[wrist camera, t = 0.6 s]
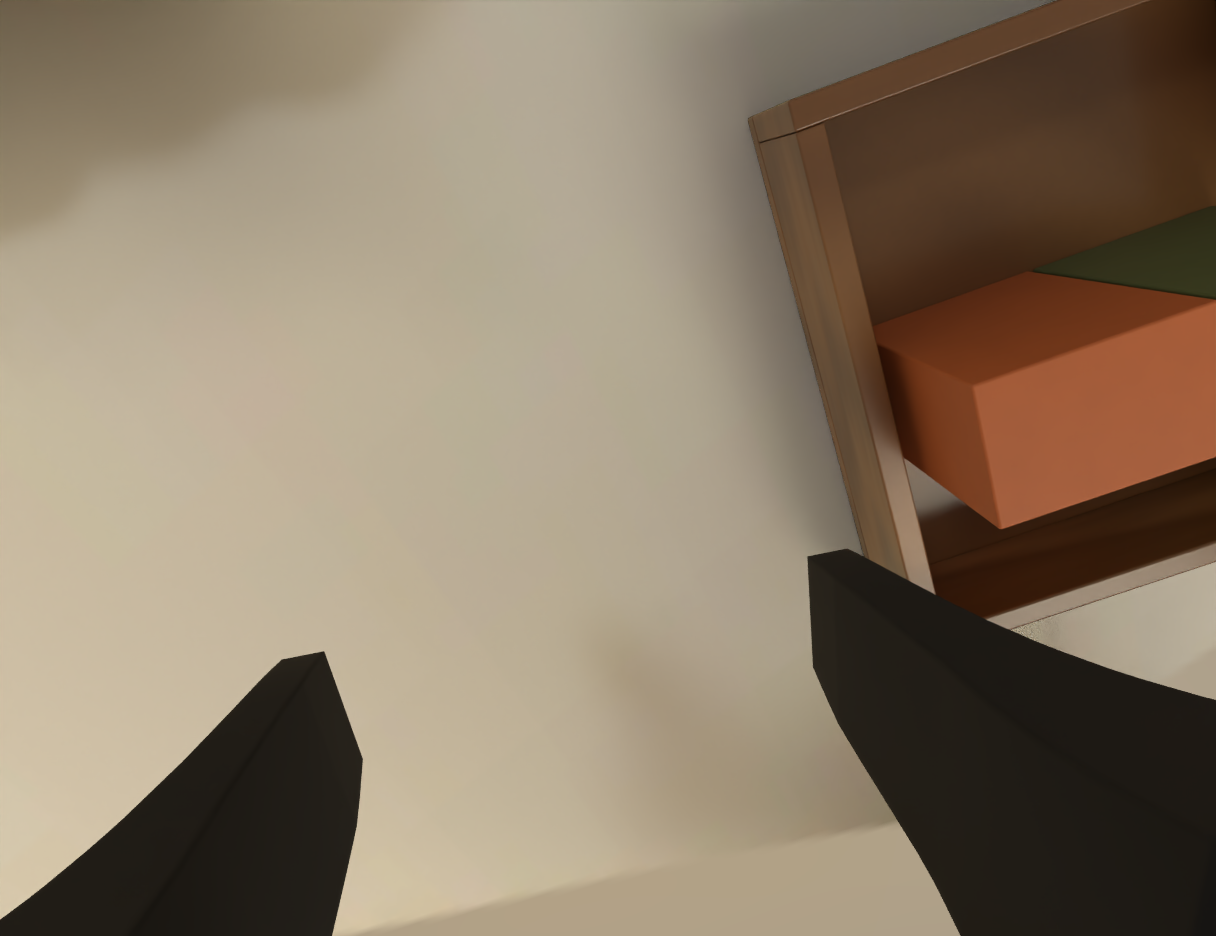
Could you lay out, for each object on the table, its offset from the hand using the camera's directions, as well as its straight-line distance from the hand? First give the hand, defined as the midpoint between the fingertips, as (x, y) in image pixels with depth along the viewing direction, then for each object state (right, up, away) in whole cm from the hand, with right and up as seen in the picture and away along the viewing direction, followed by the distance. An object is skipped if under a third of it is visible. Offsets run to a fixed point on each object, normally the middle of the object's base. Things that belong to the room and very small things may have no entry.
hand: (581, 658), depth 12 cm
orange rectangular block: (+9, +6, +8) cm, 14 cm away
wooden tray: (+11, +7, +9) cm, 16 cm away
